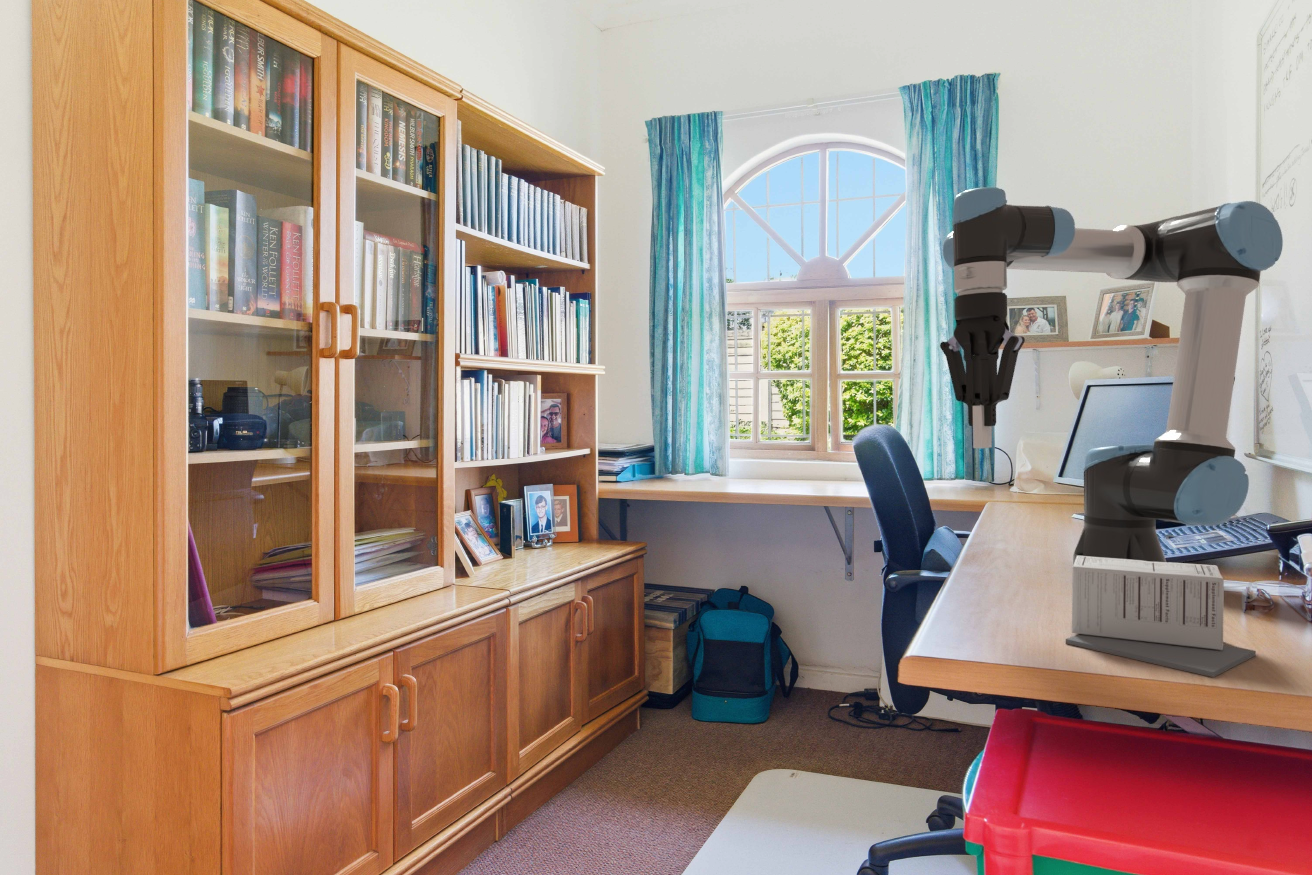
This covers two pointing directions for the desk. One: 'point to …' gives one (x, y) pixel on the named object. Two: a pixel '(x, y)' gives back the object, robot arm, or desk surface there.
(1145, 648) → the mat
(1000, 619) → the desk surface
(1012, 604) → the desk surface
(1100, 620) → the supplement box
